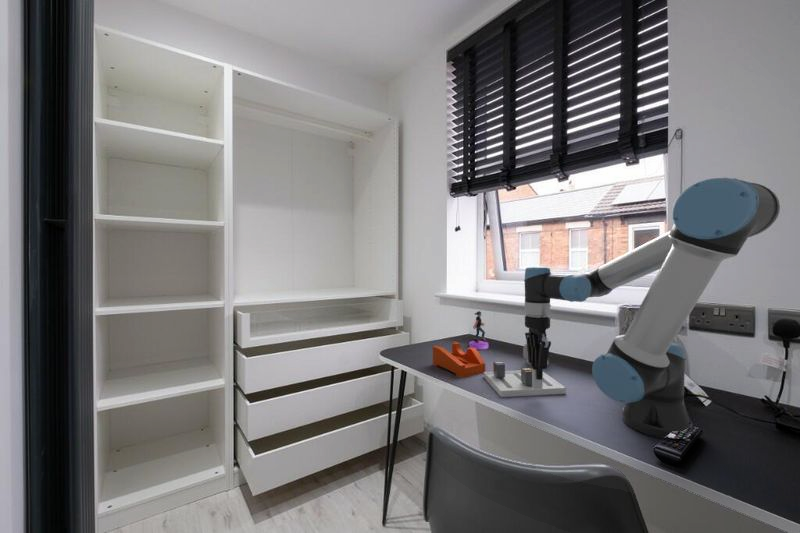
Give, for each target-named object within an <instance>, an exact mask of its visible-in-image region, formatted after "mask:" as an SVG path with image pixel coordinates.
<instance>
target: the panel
mask: <svg viewBox="0 0 800 533" xmlns="http://www.w3.org/2000/svg"><path fill="white" fill-rule="evenodd" d="M483 378H484V379H485V380H486V382H487V383H488V384H489V385H490V386H491V388H493V390H494V391H495V392H496V393H497V394H498V396H499V397H500V398H507V397H525V396H529V397H531V396H549V395H566V394H567V392H566V391H567V389H566V388H567V387H565V385H562V384H561V383H560V382H558V381H557V380H555V379H554V378H552V377H551V376H550V375H548V374H547V373H546V372H544V371H543V376H542V389H534V388H532V385H525V384H524V383H522V382H521V369H520V370H517V369H516V370H505V377H498V378H497V377H496V376H495V375H494V374H493V371H485V372H483Z"/></svg>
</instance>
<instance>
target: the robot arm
mask: <svg viewBox="0 0 800 533" xmlns="http://www.w3.org/2000/svg"><path fill="white" fill-rule="evenodd" d="M777 196H778V195H777V194H776V193H775V192H774V191H773V190H771V189H770V188H768V187H767V186H764V185H763V184H759V183H755V182H749V181H745V180H742V179H738V178H730V177H714V178H709V179H703V180H701V181H698V182H696V183H694V184H692V185H690V186H689V187H687V188H685V190H683V192H682V193H681V194H679V196H678V197H677V198H676V200H675V201H674V203H673V206H672V211H671V218H672V221H673V223H674V224H673V226H672V228H671V230H669V231H668V232H665V233H662V234H661V235H659V236H657V237H656V238H654V239H651V240H649V241H647V242H646V243H644V244H642V245H640V246H638V247H636V248H634V249H632V250H630V251H628V252H627V253H624V254H622V255H620V256H618V257H615V259H612V260H611V261H609V262H607V263H605V264H603V265H601V266H599V267H597V268H595V269H593V270H590V271H588V272H583V273H582V272H581V273H567V274H565V273H564V274H562V273H560V274H559V273H551V268H550V267H548V266H528V267H526V268H525V271H524V279H523V281H524V314H525V315H524V326H525V328H527V329H528V332H527V331H526V332H524V335H525V342H526V343H527V350H526V352H527V351H528V361H529V363H531V366H532V388H534V389H542V375H543V372H544V370H547V367H548V366H547V362H548V363H549V354H550V353H549V352H550V348H551V346H552V341H551V340H548V341H547V339H546V337H547V331H546V330H549V329H550V328H551V316H549V315H550V314H551V306H552V305H551V299H553V300H560V301H561V300H562V301H566V302H567V301H569V302H571V303H573V302H576V303H577V302H578V303H582V302H586V301H587V299H588V298H600V297H604V296H607V295H609V294H611V293H612V291H613V290H615V289H617V288H620V287H622V286H624V285H626V284H628V283H631V282H633V281H635V280H638V279H640V278H642V277H645V276H647V275H649V274H651V273H655V272H657V271H658V272H657V273H656V275H655V278H654V279H653V282H652V284H651V286H650V287H649V289H648V291H647V292H646V295H645V297H644V298H643V300H642V302H641V304H640V306H639V308H638V310H637V312H636V313H635V315H634V317H633V319H632V321H631V323H630V325H629V327H628V328H627V330H626V332H625V333H624V334H619V335H616V336H615V337H614V339H613V341H612V343H611V345H610V346H609V348H608V350H607V352H606V353H604V354H603V353H602V354H601V355H599V356H598V357H596V359H595V360H594V361H593V362H592V368H591V370H592V371H591V372H592V373H591V374H592V378H593V379H594V381H595V384H596V386H597V387H598V389H599V390H600V391H601V392H602V393H603V394H604V395H605V396H606V397H608V398H609V399H611V400H613V401H615V402H618V403H622V404H623V403H624V406H623V408H622V409H621V418H622V421H623V423H625V425H627V426H628V427H630V428H631V429H632V430H633V429H634V430H635V431H638V432H640V433H643V434H644V435H648V436H651V437H655V438H659V439H664V438H663V437H665V436H666V435H668V434H669V433H670V432H672V431H678V430H685V429H687V428H689V427H692V426H693V423H692V421H691V418H690V415H689V413H688V409H687V407H686V404H685V372H686V371H685V365H686V359H687V358H686V357H685V356H686V355H685V349H684V347H683V346H682V345H680V344H678V343H676V342H675V343H674V341H675V339H676V337H677V336H678V334H679V332H680V331H681V330H682V328H683V326H684V325H685V322H686V321H687V319H688V317H689V316H690V315H691V313H692V311H693V309H694V308H695V306H696V305H697V303H698V301H699V299H700V298H701V296H702V295H703V293H704V291H705V290H706V288H707V287H708V285H709V283H710V282H711V280H712V279H713V276H714V275H715V273H716V272H717V270H718V268H719V267H720V265H721V263H722V262H723V261H724V260H726V259H730V258H734V257H737V255H738V254H739V252H740V251H741V249H742V248H743V246H744V245H745V243H746V241H747V240H748V238H751V237H754V236H757V235H759V234H761V233H763V232H765V231H767V230H768V229H769V228H770V227H771V226H772V225H773V224H774V223H775V222H776V220H777V219H778V217H779V215H780V212H781V210H780V209H781V205H780V200H779V198H778V197H777Z"/></svg>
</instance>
